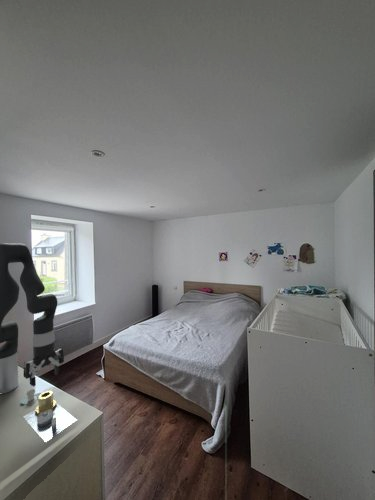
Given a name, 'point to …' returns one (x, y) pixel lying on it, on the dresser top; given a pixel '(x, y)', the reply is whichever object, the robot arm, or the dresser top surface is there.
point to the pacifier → (30, 396)
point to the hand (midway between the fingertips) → (45, 379)
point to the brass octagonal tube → (45, 402)
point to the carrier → (50, 422)
